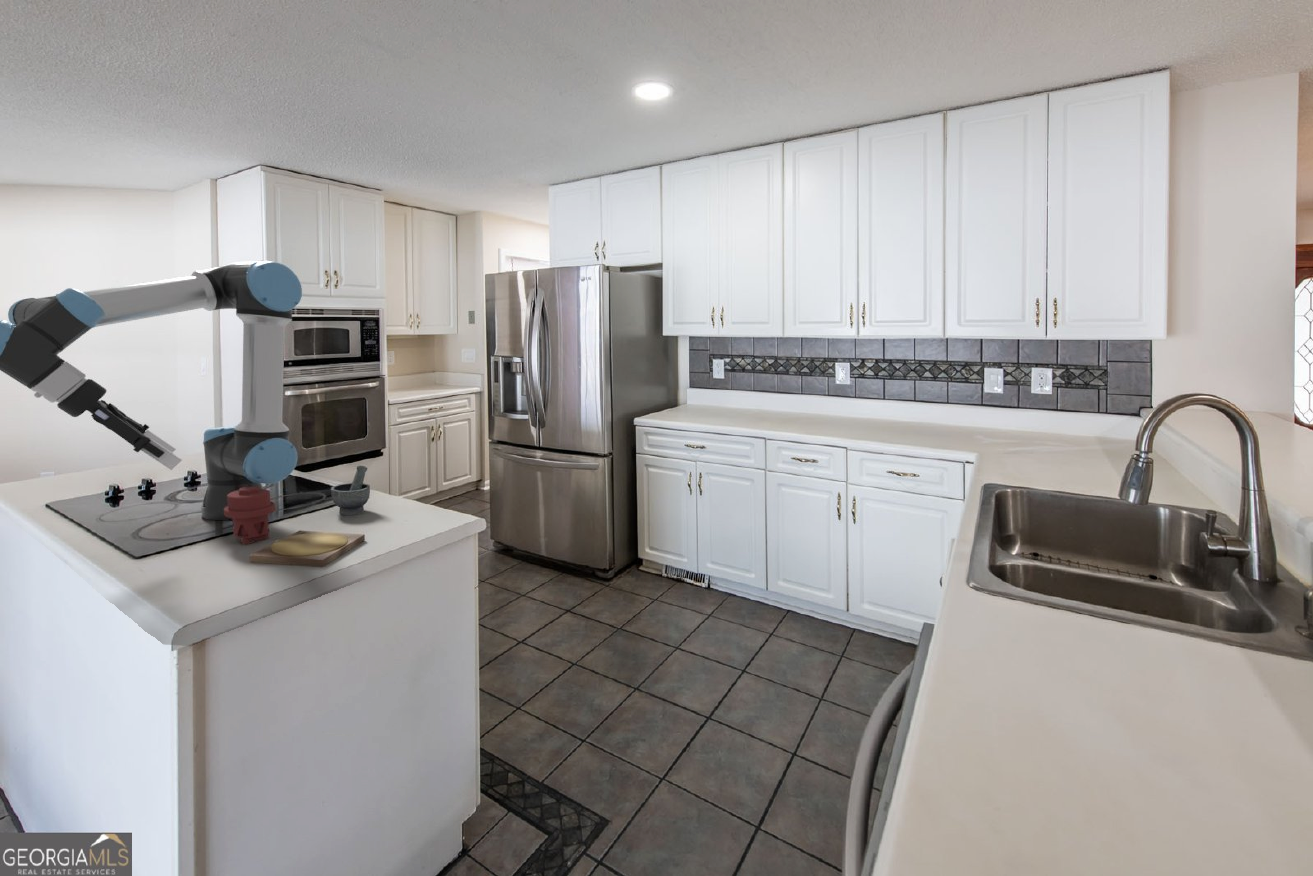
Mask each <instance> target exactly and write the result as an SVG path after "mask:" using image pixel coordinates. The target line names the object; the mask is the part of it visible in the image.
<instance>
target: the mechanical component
mask: <svg viewBox="0 0 1313 876" xmlns="http://www.w3.org/2000/svg"><path fill="white" fill-rule="evenodd" d="M271 500H272V499H271V491H270V490H269V489H266V488H264V489H258V487H243V488H240V489H239V490H238V491H234V492H231V493H229V494H228V495H227V501H228V506H226V507H225V508H224V515H225V516H226V517H228V518H232V519H233V520H232V523H233V536H234V537H235V538H238V539H241V544H242V545H249V544H251V543H254V542H257V541H258V542H259V541H261V540H263V541H264V540H267V539H269V538H270V535H269V534H270V533H269V532H270V529H269V515H271V514H273V513H274V512H275V511H276V503H275V502H273V501H271Z"/></svg>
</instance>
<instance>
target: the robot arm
mask: <svg viewBox="0 0 1313 876" xmlns="http://www.w3.org/2000/svg"><path fill="white" fill-rule="evenodd" d="M302 287H303V286H302V284H301V281H300V279H299V277H298V276H297V275H296V274H295V272H294V271H292V269H291V268H290V267H288V266H287V265H285V264H283V263H281V262H278V261H272V260H271V261H270V260H262V259H261V260H258V261H257V260H256V261H236V262H232V263H228V264H224V265H220V266H215V267H212V268H207V269H203V270H202V269H201V270H196V271H193V272H192V273H191V275H190V276H185V277H176V278H171V279H169V278H168V279H163V280H157V281H150V282H143V283H135V284H130V285H129V284H128V285H122V286H121V285H120V286H116V287H115V286H114V287H108V288H100V289H93V290H87V291H81V290H79V289H78V288H77V289H76V288H73V287H70V288H66V289H64V290H63V291H61V292H60V293H56V294H55V295H52V296H45V297H37V298H35V297H29V298H23V299H20V300H18V301H16V302H14V303H13V304H12V305H11V306H10V307H9V309H8V311H7V317H8V320H3V319H2V320H0V372H2V373H4V374H5V375H7V376H9V377H10V378H11V379H13V380H15V381H16V382H19V384H21V385H23V386H24V387H26V388H28V389H29V390H32V391H33V392H35V393H34V397H35V398H42V397H43V398H44V399H45V400H46V401H48V402H49V403H57V404H56V405H57V408H59V409H60V410H61V411H63V412H64V413H66V414H67V415H69V416H71V417H73V418H78V417H79V416H81V415H82V414H84V412H86V411H87V412H89V413H90V414H91V418H92V420H93V421H95V422H96V423H98V424H100V425H103V427H105V428H107V429H108V430H110V431H112V432H114V433H115V434H117V436H119V437H120V438H122V439H123V440H125V441H126V442H127V443H129V444H130V445H132V446H133V449H132V450H133V451H134V452H136V453H139V452H140V451H141V452H143V453H144V454H146V455H147V456H149V457H151V458H152V459H153V460H155V461H156V462H158V463H160V464H162V465H163V466H165V467H166V468H167V469H169V470H170V471H172V470H173V469H174V468H176V467H177V466H178V465H179V464H180V462H182V460H183V459H182V458H180V457H179V456H177V455H176V454H174V452H175V451H176V450H177V449H176V448H175V447H174V446H172V444H169V443H168V442H167V441H165V440H164V439H162V438H160V436H157V435H156V434H155V433H153V432H152V431H151V430H149V428H150V426H149V425H147V423H144V424H142V423H139V422H137V421H136V420H134V419H133V418H131V417H129V416H128V415H126V414H125V412H124V411H121V410H120V409H118V407H116V406H115V405H114V404H112V402H111V403H110V402H109V403H107V402H106V401H105V400H102V398H103V397H104V396H105V395H106V393H107V389H106V388H105V387H104V386H102V385H101V384H99V383H97V382H96V381H95V380H93V379H92V378H91V379H89V378H88V379H86V373H84V372H82V370H80V369H78V368H76V367H75V366H73V365H72V364H71V363H69V362H68V361H65V360H64V359H62V358H61V357H60V356H59V354H60V353H61V352H63V351H64V350H66V348H68V347H70V346H71V345H72V344H73V343H74V342H76V341H77V340H78V339H80V338H81V337H82V336H83V335H85V334H86V333H87V332H89V331H90V330H92V329H94V328H98V327H103V326H108V325H109V326H110V325H113V324H114V325H115V324H119V323H126V322H131V321H137V320H142V319H147V318H153V317H159V316H160V317H161V316H164V315H165V316H166V315H171V314H176V313H177V314H178V313H181V312H188V311H193V310H198V309H204V310H206V311H209V312H212V311H216V310H217V311H218V310H225V309H226V310H227V309H228V310H230V309H231V310H236V312H235V314H236V316H237V318H239V320H240V321H242V323H243V325H242V326H243V334H242V336H243V338H242V339H243V340H242V384H241V385H242V386H241V387H242V392H241V395H242V396H241V398H242V399H241V421H240V422H239V423H238V424H237V425H232V426H231V425H230V426H222V427H214V428H213V427H211V428H208V429H206V430H205V431H204V433H203V442H202V445H203V449H204V460H205V470H206V481H207V482H206V483H207V486H206V491H205V494H204V497H203V501H202V503H201V504H202V505H201V507H200V508H201V509H200V510H201V517H202V518H204V519H206V520H212V521H230V520H229V519H232V518H228V517H226V516H225V515H224V508H225V507H226V506H228V501H227V495H228V494H229V493H231V492H234V491H238V490H239V489H240V488H243V487H258V489H265V487H264V486H263V484H266V485H270V484H276V483H279V482H282V481H284V480H285V479H287V478H288V477H289V475H291V474H292V473H293V471H294V470H295V468H296V466H297V463H298V455H299V454H298V451H297V449H296V447H295V445H293V443H292V442H290V429H289V427H288V426H287V425H286V424H285V423H284V422H283V408H284V406H283V405H284V403H283V402H284V367H285V366H284V362H285V357H284V356H285V331H286V330H285V328H286V326H287V325H288V324H289V323H291V322H293V309H295V308H296V307H297V305H299V303H300V302H301V300H302V296H303V288H302Z"/></svg>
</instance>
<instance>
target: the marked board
mask: <svg viewBox="0 0 1313 876" xmlns="http://www.w3.org/2000/svg"><path fill="white" fill-rule="evenodd" d="M364 540H366V538H365V534H364V533H363V534H362V533H346V532H345V533H344V532H333V531H331V532H329V531H315V530H298V531H296V532H294V533H291V534H290V535H287V536H285V537H283V538H281V539H276V540H275V541H273V543H271V544H269V545H268V546H266V547H264V548H262V549H259V550H258V551H256V552H254V553H251V554H250V555H249V561H250V562H249V563H257V564H259V563H260V564H276V565H289V564H293V566H304V565H305V566H309V567H326V564H327V565H328V564H330V563H331V562H332V561H334V560H336V559H338V558H339V557H340V556H342V555H344V554H346V553H347V552H348V550H349V551H350V550H352V549H354V548H355V547H357V546H358V545H360V544H362V543H363V542H365V541H364ZM362 541H363V542H362ZM361 542H362V543H361ZM356 545H357V546H356ZM354 546H355V547H354ZM353 547H354V548H353Z"/></svg>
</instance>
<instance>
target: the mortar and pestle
mask: <svg viewBox="0 0 1313 876" xmlns="http://www.w3.org/2000/svg"><path fill="white" fill-rule="evenodd" d="M366 472H368V467H367V466H364V465H357V466H356V471H355V475H354V478H353V480H352V482H347V483H342V484H341V483H340V484H337V485H334V486H333V485H332V486H331V487H330V495H331V499H332V502H333V503H334V505H336V506H337V507H338V508H339V510H338V511H339V515H343V516H344V515H345V516H353V515H359V514H362V513H364V512H365V511H364V510H365V509H364V506H365V504H367V502H368V501H369V499H370V496H371V495H370V492H371V485H370V484H367V483H364V480H365V476H366Z"/></svg>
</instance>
